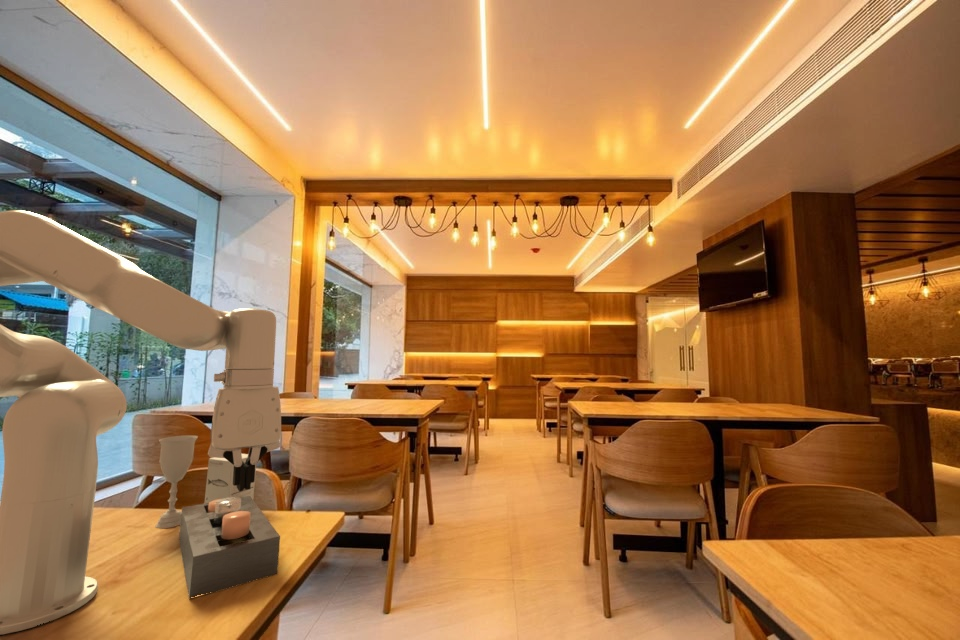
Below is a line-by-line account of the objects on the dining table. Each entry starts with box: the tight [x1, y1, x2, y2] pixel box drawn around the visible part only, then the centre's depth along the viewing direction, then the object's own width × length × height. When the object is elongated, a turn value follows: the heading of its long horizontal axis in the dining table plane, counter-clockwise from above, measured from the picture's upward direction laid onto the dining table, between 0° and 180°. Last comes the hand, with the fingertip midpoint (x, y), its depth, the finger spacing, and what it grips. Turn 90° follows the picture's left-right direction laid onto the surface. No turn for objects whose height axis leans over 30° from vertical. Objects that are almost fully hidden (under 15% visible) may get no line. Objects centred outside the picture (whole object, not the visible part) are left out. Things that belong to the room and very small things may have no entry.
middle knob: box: [214, 497, 241, 522], centre depth 74 cm, size 4×4×3 cm
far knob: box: [208, 499, 220, 513], centre depth 80 cm, size 4×4×3 cm
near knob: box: [221, 511, 251, 540], centre depth 67 cm, size 4×4×3 cm
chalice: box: [155, 434, 199, 529], centre depth 88 cm, size 7×7×18 cm
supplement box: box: [203, 453, 257, 504], centre depth 95 cm, size 7×7×13 cm
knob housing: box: [178, 496, 281, 599], centre depth 73 cm, size 12×26×6 cm, turn 40°
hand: (243, 488), depth 68 cm, fingers closed
